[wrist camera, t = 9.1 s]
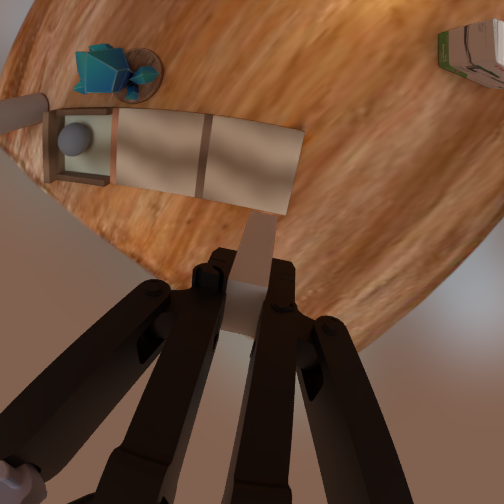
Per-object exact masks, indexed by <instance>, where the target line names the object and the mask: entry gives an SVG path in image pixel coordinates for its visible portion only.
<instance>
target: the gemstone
mask: <svg viewBox="0 0 504 504" xmlns="http://www.w3.org/2000/svg"><path fill="white" fill-rule="evenodd" d="M89 50H90V52H76V61H77V70H78V73H79V76H80V79H81V80H80V81H79V83H78V84H77V85H76V86H75V87H74V89H73V90H75V91H77V92H79V93H82V94H87V93H113V94H114V95H115V96H116V97H117V98H118V99H119V100H120V101H122V102H125V103H130V104H133V103H140V102H143V101H145V100H147V99H149V98H150V97H152V96H153V95H154V94H155V93H156V91H157V90H158V88H159V87H160V84H161V82H162V78H163V66H162V63H161V60H160V59H159V57H158V56H157V55H156V54H155V53H154V52H152V51H150V50H148V49H144V48H135V49H131V50H129V51H127V52H125V53H124V51H123V48H113V47H112V46H111V45H109V44H99V45H91V46H89Z"/></svg>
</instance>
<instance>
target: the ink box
mask: <svg viewBox="0 0 504 504" xmlns="http://www.w3.org/2000/svg"><path fill="white" fill-rule="evenodd" d="M439 66H440V67H441V68H443V69H446V70H448V71H451V72H454V73H456V74H458V75H461V76H463V77H465V78H467V79H470V80H472V81H474V82H476V83H478V84H481V85H483V86H485V87H487V88H495V89H504V22H503V21H501V20H497V19H489V20H485V21H481V22H477V23H473V24H470V25H466V26H462V27H459V28H456V29H452V30H449V31H446V32H443V33H440V34H439Z"/></svg>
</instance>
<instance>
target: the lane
mask: <svg viewBox="0 0 504 504" xmlns="http://www.w3.org/2000/svg"><path fill="white" fill-rule="evenodd" d="M70 123H81V124H83V125H84V126H86V127H87V129H88V131H89V133H90V142H89V145H88V147H87V149H86V150H85V151H84V152H83V153H82V154H80V155H78V156H74V157H70V156H66V155H64V154H63V153H62V152H61V151H60V149H59V146H58V137H59V134H60V132H61V130H62V129H63V128H64V127H65V126H67V125H68V124H70ZM304 134H305V131H302V130H297V129H293V128H288V127H283V126H278V125H273V124H268V123H263V122H257V121H252V120H246V119H240V118H233V117H226V116H219V115H212V114H204V113H195V112H185V111H174V110H162V109H146V108H118V107H88V108H61V109H56V110H51V111H47V112H43V168H44V182H45V183H52V182H54V181H56V180H62V181H69V182H76V183H83V184H90V185H97V186H104V187H105V186H106V185H108V184H110V183H111V184H118V185H125V186H131V187H137V188H144V189H150V190H156V191H162V192H168V193H173V194H179V195H185V196H190V197H196V198H201V199H207V200H212V201H217V202H222V203H228V204H233V205H238V206H243V207H248V208H253V209H257V210H262V211H267V212H272V213H276V214H281V215H286V212H287V208H288V204H289V200H290V195H291V191H292V187H293V182H294V178H295V174H296V169H297V165H298V161H299V156H300V152H301V147H302V143H303V138H304Z"/></svg>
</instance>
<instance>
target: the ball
mask: <svg viewBox="0 0 504 504" xmlns="http://www.w3.org/2000/svg"><path fill="white" fill-rule="evenodd" d="M89 142H90V133H89V131H88V129H87V127H86V126H84V125H83V124H81V123H70V124H68V125H67V126H65V127H64V128H63V129H62V130H61V132H60V134H59V137H58V146H59V149H60V151H61V152H62V153H63V154H64V155H66V156H70V157H74V156H78V155H80V154H82V153H83V152H84V151H85V150H86V149H87V147H88V145H89Z"/></svg>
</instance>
